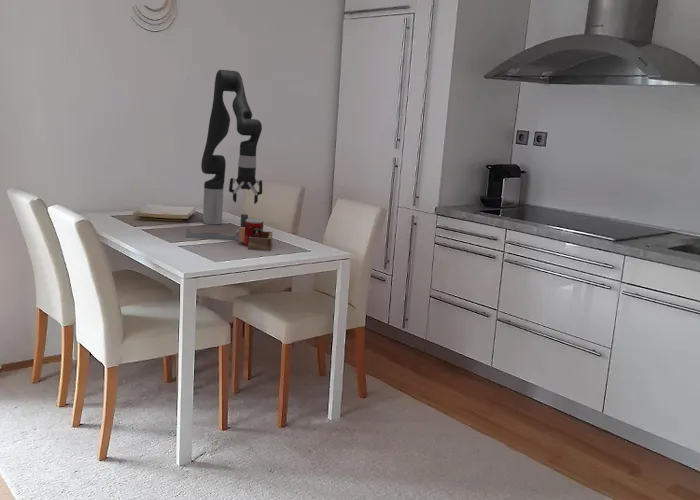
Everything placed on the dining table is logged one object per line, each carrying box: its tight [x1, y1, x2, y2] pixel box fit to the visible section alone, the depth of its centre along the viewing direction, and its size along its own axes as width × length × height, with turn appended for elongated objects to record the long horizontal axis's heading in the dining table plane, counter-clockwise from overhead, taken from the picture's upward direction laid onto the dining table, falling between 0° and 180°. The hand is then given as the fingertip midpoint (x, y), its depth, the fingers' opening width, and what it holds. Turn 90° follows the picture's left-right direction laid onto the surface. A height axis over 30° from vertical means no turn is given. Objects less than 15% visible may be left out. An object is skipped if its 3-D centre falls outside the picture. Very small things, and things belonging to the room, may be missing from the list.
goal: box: [247, 230, 273, 252], centre depth 284 cm, size 15×9×5 cm, turn 4°
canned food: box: [243, 218, 264, 247], centre depth 284 cm, size 8×8×11 cm
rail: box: [185, 227, 239, 242], centre depth 292 cm, size 3×30×4 cm, turn 94°
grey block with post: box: [235, 213, 249, 243], centre depth 289 cm, size 13×6×11 cm, turn 4°
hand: (245, 202), depth 290 cm, fingers open, 8 cm apart
